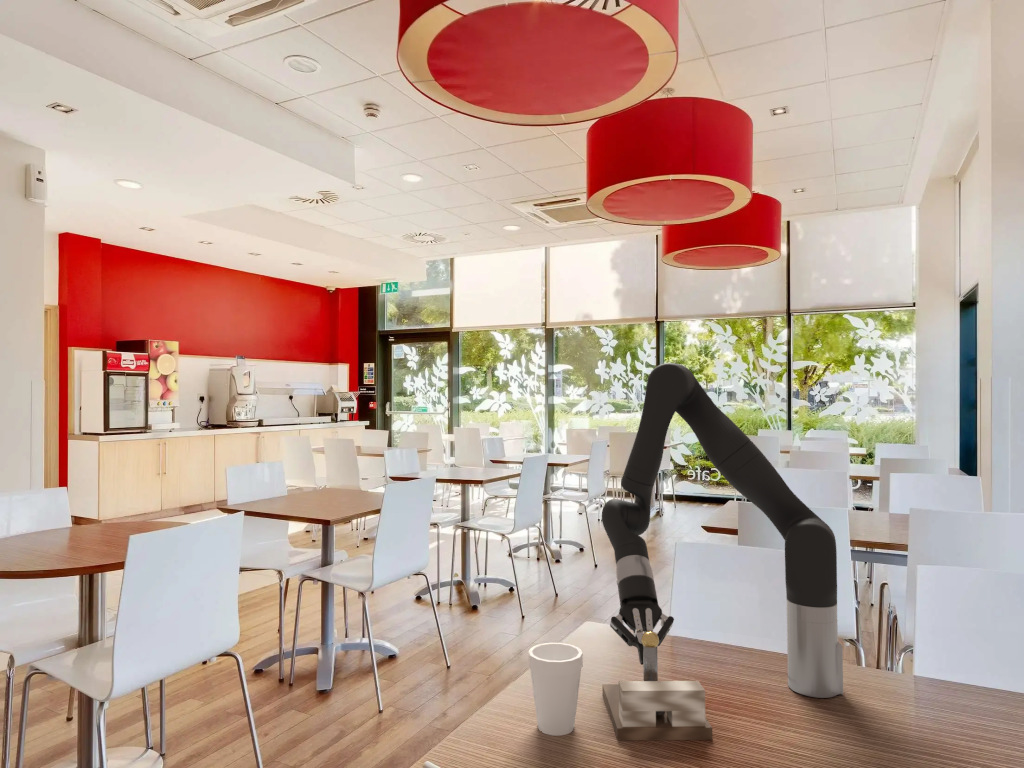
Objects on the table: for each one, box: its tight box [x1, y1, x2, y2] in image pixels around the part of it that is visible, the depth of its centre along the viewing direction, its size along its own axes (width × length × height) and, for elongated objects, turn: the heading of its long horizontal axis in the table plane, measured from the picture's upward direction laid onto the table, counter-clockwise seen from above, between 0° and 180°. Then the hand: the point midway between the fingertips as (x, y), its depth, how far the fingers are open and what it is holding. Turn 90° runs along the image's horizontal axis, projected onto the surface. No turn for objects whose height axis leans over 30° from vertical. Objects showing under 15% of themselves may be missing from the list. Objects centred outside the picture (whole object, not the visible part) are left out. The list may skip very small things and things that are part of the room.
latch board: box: [601, 680, 713, 741], centre depth 123 cm, size 16×18×8 cm
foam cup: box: [528, 642, 584, 737], centre depth 119 cm, size 10×9×13 cm
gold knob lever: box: [641, 630, 665, 715], centre depth 123 cm, size 3×9×12 cm, turn 0°
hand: (648, 666), depth 128 cm, fingers closed
